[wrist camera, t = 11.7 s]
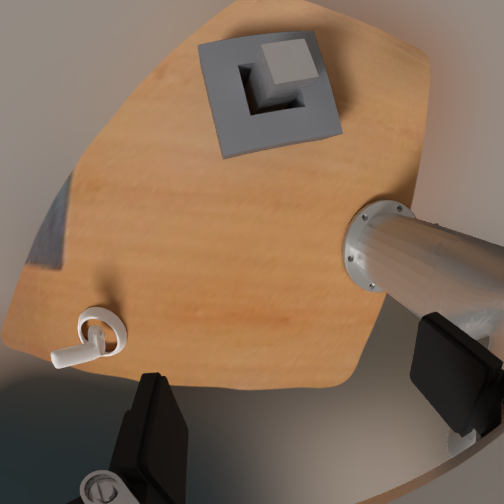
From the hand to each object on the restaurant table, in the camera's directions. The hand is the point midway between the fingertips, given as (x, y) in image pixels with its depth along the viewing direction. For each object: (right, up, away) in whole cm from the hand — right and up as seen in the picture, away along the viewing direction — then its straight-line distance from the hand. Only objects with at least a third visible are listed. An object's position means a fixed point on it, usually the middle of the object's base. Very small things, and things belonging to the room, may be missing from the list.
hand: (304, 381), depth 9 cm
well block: (-1, +22, +21) cm, 30 cm away
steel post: (-1, +22, +21) cm, 30 cm away
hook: (-23, -6, +26) cm, 35 cm away
